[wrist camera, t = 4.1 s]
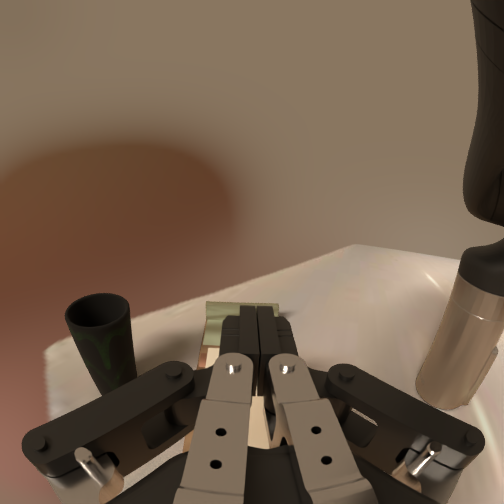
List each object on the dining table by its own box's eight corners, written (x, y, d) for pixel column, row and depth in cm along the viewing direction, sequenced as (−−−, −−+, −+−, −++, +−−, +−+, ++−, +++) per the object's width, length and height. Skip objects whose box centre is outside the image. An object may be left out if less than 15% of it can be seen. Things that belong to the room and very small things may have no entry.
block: (278, 448, 23) (291, 394, 20) (208, 448, 22) (201, 393, 19) (273, 407, 28) (282, 349, 25) (211, 406, 28) (208, 347, 25)
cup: (114, 361, 34) (96, 287, 30) (157, 379, 32) (142, 301, 28) (81, 392, 27) (52, 314, 23) (125, 417, 25) (96, 337, 21)
